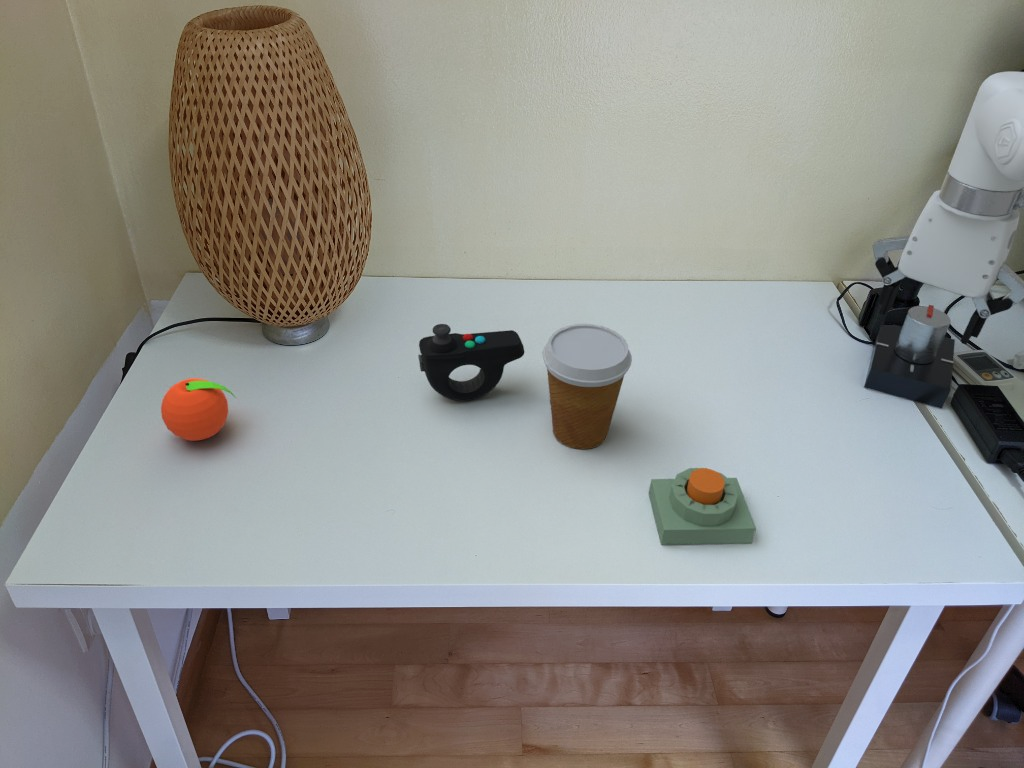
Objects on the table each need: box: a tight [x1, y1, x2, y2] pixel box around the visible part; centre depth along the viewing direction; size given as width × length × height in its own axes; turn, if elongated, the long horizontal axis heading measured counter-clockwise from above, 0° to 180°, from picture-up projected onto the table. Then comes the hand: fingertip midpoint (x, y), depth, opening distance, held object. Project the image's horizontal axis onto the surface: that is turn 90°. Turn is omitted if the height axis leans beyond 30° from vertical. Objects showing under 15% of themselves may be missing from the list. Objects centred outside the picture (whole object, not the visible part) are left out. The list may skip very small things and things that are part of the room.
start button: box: [687, 467, 725, 505], centre depth 76 cm, size 3×3×2 cm
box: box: [648, 467, 757, 546], centre depth 78 cm, size 9×7×4 cm
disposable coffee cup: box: [542, 323, 633, 450], centre depth 86 cm, size 10×10×12 cm
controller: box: [418, 323, 525, 401], centre depth 91 cm, size 4×12×10 cm, turn 102°
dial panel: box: [863, 324, 956, 410], centre depth 98 cm, size 12×9×3 cm
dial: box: [894, 304, 952, 364], centre depth 96 cm, size 5×5×6 cm
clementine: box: [160, 377, 237, 442], centre depth 86 cm, size 8×7×7 cm
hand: (924, 324), depth 95 cm, fingers open, 9 cm apart
